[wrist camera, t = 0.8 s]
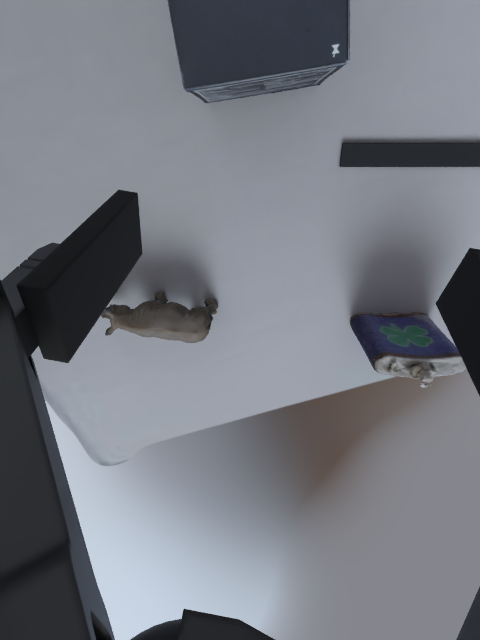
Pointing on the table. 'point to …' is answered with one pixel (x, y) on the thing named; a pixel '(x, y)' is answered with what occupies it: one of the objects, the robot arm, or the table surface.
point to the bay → (410, 155)
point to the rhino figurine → (163, 319)
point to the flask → (406, 346)
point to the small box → (258, 44)
